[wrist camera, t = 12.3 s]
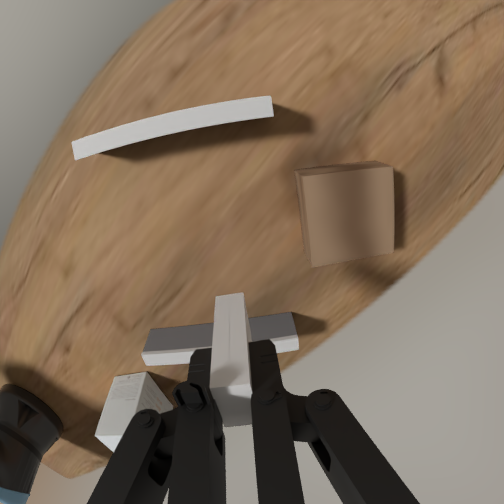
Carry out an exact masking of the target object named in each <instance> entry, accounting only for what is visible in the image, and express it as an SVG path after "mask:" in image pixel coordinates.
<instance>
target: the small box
mask: <svg viewBox="0 0 504 504" xmlns="http://www.w3.org/2000/svg"><path fill="white" fill-rule="evenodd" d="M144 409H153V410H156V411H157V412H158V413H159V414H160V413H164V412H167V411H170V410H173V405H172V404H171V403H170V402H169V400H168V399H167V398H166V396H165V395H164V394H163V393H162V391H161V390H160V389H159V387H158V386H157V385H156V383H155V382H154V381H153V379H152V378H151V377H150V375H149V374H148V372H141V373H135V374H128V375H122V376H115V377H114V380H113V383H112V385H111V388H110V391H109V394H108V397H107V399H106V402H105V405H104V408H103V411H102V414H101V417H100V420H99V423H98V426H97V429H96V433H95V436H96V437H97V438H98V439H99V440H100V441H101V442H102V443H103V444H104V445H106V446H107V447H108V448H109V449H110V450H111V451H113V452H114V451H115V449H116V447H117V445H118V443H119V441H120V439H121V437H122V436H123V434H124V432H125V430H126V428H127V426H128V424H129V423H130V421H131V419H132V417H133V416H134V415H135V414H136V413H137V412H139V411H140V410H144Z"/></svg>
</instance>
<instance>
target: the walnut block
mask: <svg viewBox="0 0 504 504" xmlns="http://www.w3.org/2000/svg"><path fill="white" fill-rule="evenodd" d="M294 172H295V179H296V187H297V195H298V203H299V211H300V220H301V229H302V238H303V248H304V252H305V254H306V256H307V258H308V260H309V262H310V264H311V267H312V268H313V267H319V266H324V265H330V264H335V263H341V262H346V261H352V260H357V259H362V258H368V257H373V256H378V255H383V254H389V253H394V177H393V166H390V165H387V164H384V163H381V162H378V161H366V162H356V163H346V164H337V165H328V166H320V167H312V168H305V169H297V170H294Z"/></svg>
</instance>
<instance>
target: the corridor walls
mask: <svg viewBox="0 0 504 504" xmlns="http://www.w3.org/2000/svg"><path fill="white" fill-rule="evenodd" d="M273 116H274V114H273V107H272V100H271V96H262V97H254V98H246V99H239V100H233V101H226V102H220V103H215V104H209V105H204V106H198V107H193V108H189V109H184V110H179V111H175V112H170V113H166V114H162V115H158V116H154V117H150V118H146V119H142V120H139V121H135V122H131V123H128V124H124V125H121V126H118V127H114V128H111V129H108V130H105V131H102V132H99V133H96V134H93V135H90V136H87V137H84V138H81V139H78V140H76V141H73V142H72V146H73V152H74V156H75V160H78V159H81V158H84V157H87V156H91V155H94V154H97V153H101V152H104V151H107V150H111V149H114V148H117V147H121V146H125V145H128V144H132V143H136V142H140V141H143V140H147V139H151V138H156V137H160V136H164V135H168V134H173V133H177V132H182V131H187V130H192V129H197V128H202V127H207V126H213V125H219V124H225V123H231V122H237V121H244V120H251V119H258V118H266V117H273ZM248 320H249V325H250V330H251V340H252V342H253V341H259V340H266V339H270V340H271V341H272V342H273V343H274V345H275V347H276V352H277V353H281V352H288V351H294V350H299V344H298V336H297V332H296V328H295V324H294V321H293V317H292V313H291V312H288V313H281V314H275V315H268V316H261V317H254V318H248ZM213 327H214V323H208V324H199V325H190V326H180V327H170V328H160V329H151V330H150V333H149V336H148V338H147V341H146V344H145V347H144V350H143V352H142V354H141V355H142V357H143V359H144V361H145V364H146V366H152V365H170V364H185V363H190V357H191V356H192V354H193V353H194V351H195V350H196V349H204V348H212V341H213Z"/></svg>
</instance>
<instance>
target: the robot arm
mask: <svg viewBox="0 0 504 504" xmlns="http://www.w3.org/2000/svg"><path fill="white" fill-rule="evenodd" d="M189 366H190V367H189V371H188V372H189V373H188V378H187V381H185V382H182V383H180V384H179V385H177V386H176V387H175V388H174V390H173V393H172V395H173V397H174V399H175V401H176V403H177V404H178V407H177V408H175V409H173V410H170V411H167V412H164V413H160V414H159V413H158V412H157V411H156V410H153V409H144V410H140V411H139V412H137V413H136V414H135V415H134V416H133V417H132V419H131V421H130V423H129V424H128V426H127V428H126V430H125V432H124V434H123V436H122V437H121V439H120V441H119V443H118V445H117V447H116V449H115V451H114V453H113V454H112V456H111V458H110V460H109V462H108V464H107V466H106V468H105V470H104V472H103V474H102V475H101V477H100V479H99V481H98V483H97V485H96V487H95V489H94V491H93V493H92V495H91V497H90V499H89V501H88V503H87V504H163V501H164V498H165V496H166V493H167V491H168V488H169V494H168V504H226V470H225V436H224V433H223V426H222V424H224V427H231V426H241V425H250V424H252V427H253V439H254V451H255V464H256V477H257V488H258V501H259V504H305V503H304V497H303V491H302V486H301V480H300V474H299V470H298V463H297V458H296V452H295V447H294V441H301V442H308V444H309V446H310V448H311V449H312V451H313V453H314V455H315V457H316V458H317V460H318V462H319V463H320V465H321V467H322V469H323V470H324V472H325V474H326V476H327V477H328V479H329V480H330V482H331V484H332V486H333V487H334V489H335V491H336V492H337V494H338V496H339V497H340V499H341V501H342V502H343V504H420V503H419V502H418V501H417V499H416V498H415V497H414V495H413V494H412V493H411V491H410V490H409V489H408V488H407V486H406V485H405V484H404V482H403V481H402V480H401V478H400V477H399V476H398V474H397V473H396V472H395V470H394V469H393V468H392V467H391V465H390V464H389V463H388V461H387V460H386V458H385V457H384V456H383V455H382V453H381V452H380V450H379V449H378V448H377V446H376V445H375V444H374V443H373V441H372V440H371V438H370V437H369V436H368V434H367V433H366V432H365V430H364V429H363V428H362V426H361V425H360V424H359V422H358V421H357V419H356V418H355V417H354V416H353V414H352V413H351V411H350V410H349V409H348V407H347V406H346V405H345V403H344V402H343V401H342V399H341V398H340V396H339V395H338V394H336V392H334V391H331V390H329V389H320V390H316V391H314V392H312V393H311V394H309V396H308V397H307V396H298V395H293V394H291V393H289V392H288V391H286V390H285V388H284V387H283V384H282V379H281V374H280V368H279V363H278V358H277V352H276V347H275V345H274V343H273V342H272V341H271V340H270V339H266V340H259V341H253V342H252V340H251V330H250V325H249V320H248V315H247V309H246V304H245V299H244V293H243V292H242V293H236V294H229V295H222V296H216V301H215V314H214V327H213V341H212V348H204V349H196V350H195V351H194V353H193V354H192V356H191V357H190V364H189ZM62 431H63V425H62V423H61V421H60V419H59V418H58V417H57V415H56V414H55V413H54V412H53V411H52V410H51V409H50V408H49V407H48V406H47V405H45V404H44V403H43V402H42V401H41V400H39V399H38V398H37V397H35V396H34V395H32V394H31V393H29V392H27V391H26V390H24V389H22V388H20V387H17V386H14V385H11V384H6V385H3V386H2V388H1V390H0V502H1V503H3V504H26V502H27V499H28V497H29V496H30V491H31V488H32V485H33V482H34V479H35V476H36V473H37V471H38V468H39V465H40V462H41V460H42V457H43V455H44V454H45V453H46V452H47V451H48V450H49V449H50V447H51V446H52V445H53V444H54V443H55V442H56V441H57V440H58V439H59V438H60V436H61V434H62Z"/></svg>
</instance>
